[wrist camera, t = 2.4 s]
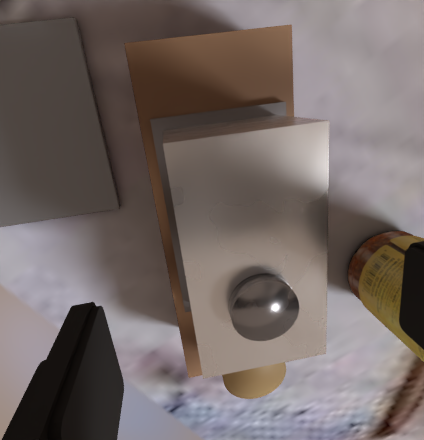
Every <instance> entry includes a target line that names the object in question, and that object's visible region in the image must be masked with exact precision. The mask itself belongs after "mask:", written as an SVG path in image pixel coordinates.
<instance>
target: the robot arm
mask: <svg viewBox="0 0 424 440" xmlns="http://www.w3.org/2000/svg"><path fill="white" fill-rule="evenodd" d="M399 324H400V327H401V329H402V330H403V331H404V332H405V333H406V334H407V335H408V336H409V337H410V338H411V339H412V340H413V341H414V342H416V343H417V344H418V345H419V346H420V347H421V348H422V349H423V350H424V241H421V242H415V243H412V244H410V246H409V248H408V249H407V250H406V251H405V256H404V268H403V279H402V290H401V301H400V312H399ZM123 393H124V383H123V377H122V374H121V370H120V366H119V363H118V359H117V356H116V352H115V349H114V345H113V342H112V338H111V334H110V331H109V327H108V324H107V320H106V317H105V313H104V310H103V307H102V306H97V307H96V305H95V303H94V302H91V303H85V304H80V305H75V306H72V307H71V308H70V311H69V313H68V315H67V317H66V319H65V321H64V323H63V325H62V327H61V329H60V332H59V334H58V336H57V338H56V340H55V342H54V344H53V347H52V348H51V351H50V353H49V355H48V357H47V359H46V360H44V361H42V362H41V363H40V365H39V366H38V367H37V369H36V371H35V374H34V375H33V377H32V380H31V381H30V383H29V386H28V388H27V390H26V392H25V394H24V396H23V398H22V400H21V402H20V404H19V406H18V408H17V410H16V412H15V414H14V416H13V418H12V420H11V422H10V424H9V426H8V428H7V430H6V432H5V434H4V436H3V438H2V440H117V435H118V428H119V421H120V414H121V407H122V400H123Z"/></svg>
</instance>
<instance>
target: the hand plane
mask: <svg viewBox="0 0 424 440" xmlns="http://www.w3.org/2000/svg"><path fill="white" fill-rule="evenodd" d="M124 45H125V50H126V56H127V61H128V66H129V71H130V76H131V81H132V87H133V92H134V97H135V102H136V107H137V112H138V118H139V123H140V128H141V133H142V138H143V143H144V149H145V154H146V159H147V164H148V169H149V174H150V180H151V185H152V190H153V195H154V200H155V205H156V211H157V216H158V221H159V226H160V231H161V236H162V242H163V247H164V252H165V257H166V262H167V267H168V273H169V278H170V283H171V288H172V293H173V298H174V304H175V309H176V314H177V319H178V324H179V329H180V335H181V340H182V345H183V350H184V355H185V361H186V366H187V371H188V376H189V378H190V377H195V376H200V375H202V369H201V363H200V358H199V352H198V346H197V340H196V334H195V329H194V323H193V317H192V311H191V305H190V299H189V294H188V288H187V282H186V276H185V270H184V265H183V259H182V253H181V247H180V241H179V236H178V230H177V224H176V218H175V212H174V206H173V201H172V195H171V189H170V183H169V177H168V172H167V166H166V160H165V154H164V148H163V134H164V130H168V129H175V128H183V127H190V126H197V125H205V124H212V123H220V122H227V121H234V120H242V119H249V118H257V117H264V116H271V115H281V116H290V117H294V101H293V61H292V25H284V26H275V27H266V28H257V29H248V30H239V31H230V32H220V33H211V34H202V35H193V36H184V37H175V38H166V39H157V40H148V41H139V42H130V43H124ZM285 373H286V365H285V362H283V363H278V364H273V365H268V366H263V367H258V368H253V369H248V370H243V371H238V372H233V373H229V374H224V375H222V376H223V381H224V385H225V387H226V389H227V390H228V391H229V392H230V393H231V394H233V395H234V396H237V397H240V398H245V399H253V398H259V397H262V396H265V395H267V394H269V393H271V392H272V391H274V390H275V389H276V388H277V387H278V386H279V385H280V384H281V382H282V381H283V379H284V377H285Z"/></svg>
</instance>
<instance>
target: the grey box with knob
mask: <svg viewBox="0 0 424 440" xmlns="http://www.w3.org/2000/svg"><path fill="white" fill-rule="evenodd" d="M163 148H164V154H165V160H166V166H167V172H168V177H169V183H170V189H171V195H172V201H173V206H174V212H175V218H176V224H177V230H178V236H179V241H180V247H181V253H182V259H183V265H184V270H185V276H186V282H187V288H188V294H189V299H190V305H191V311H192V317H193V323H194V329H195V334H196V340H197V346H198V352H199V358H200V363H201V369H202V375H203V379H204V378H209V377H214V376H219V375H224V374H229V373H233V372H238V371H243V370H248V369H253V368H258V367H263V366H268V365H273V364H278V363H283V362H288V361H292V360H297V359H302V358H307V357H312V356H317V355H322V354H326V322H327V249H328V175H329V121H328V120H319V119H309V118H300V117H290V116H281V115H271V116H264V117H257V118H249V119H242V120H234V121H227V122H220V123H212V124H205V125H197V126H190V127H183V128H175V129H168V130H164V134H163Z"/></svg>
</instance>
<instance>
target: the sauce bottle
mask: <svg viewBox="0 0 424 440" xmlns="http://www.w3.org/2000/svg"><path fill="white" fill-rule="evenodd" d="M421 241H424V239H423V238H421V237H417V236H413V235H412V234H409V233H407V232H404V231H390V232H386V233H382V234H379V235H376V236H374V237H371V238H370V239H369V240H367V241H366V242H365V243H364V244H362V245H361V247H360V248H359V249H358V251H357V252H356V253H355V254H354V255H353V257H352V260H351V262H350V264H349V269H348V282H349V284H350V288H351V290H352V292H353V293H354V294H355V296H356V297H357V298H358V299H359V300H361V301H362V303H363V305H364V306H365V307H366V308H367V309H368V310H369V311H370V312H371V313H372V314H373V315H374V316H375V317H376V318H377V319H378V320H379V321H380V322H382V323H383V324H384V325H385V326H386V327H387V328H388V329H389V330H390V331H391V332H392V333H393V334H394V335H396V336H397V337H398V338H399V339H400V340H401V341H402V342H403V343H404V344H405V345H406V346H407V347H408V348H410V349H411V350H412V351H413V352H414V353H415V354H416V355H417V356H418V357H419V358H420V359H421V360H422V361H423V362H424V350H423V349H422V348H421V347H420V346H419V345H418V344H417V343H416V342H414V341H413V340H412V339H411V338H410V337H409V336H408V335H407V334H406V333H405V332H404V331H403V330H402V329H401V327H400V324H399V312H400V301H401V290H402V279H403V268H404V256H405V251H406V250H407V249H408V248H409V246H410V244H412V243H415V242H421Z"/></svg>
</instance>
